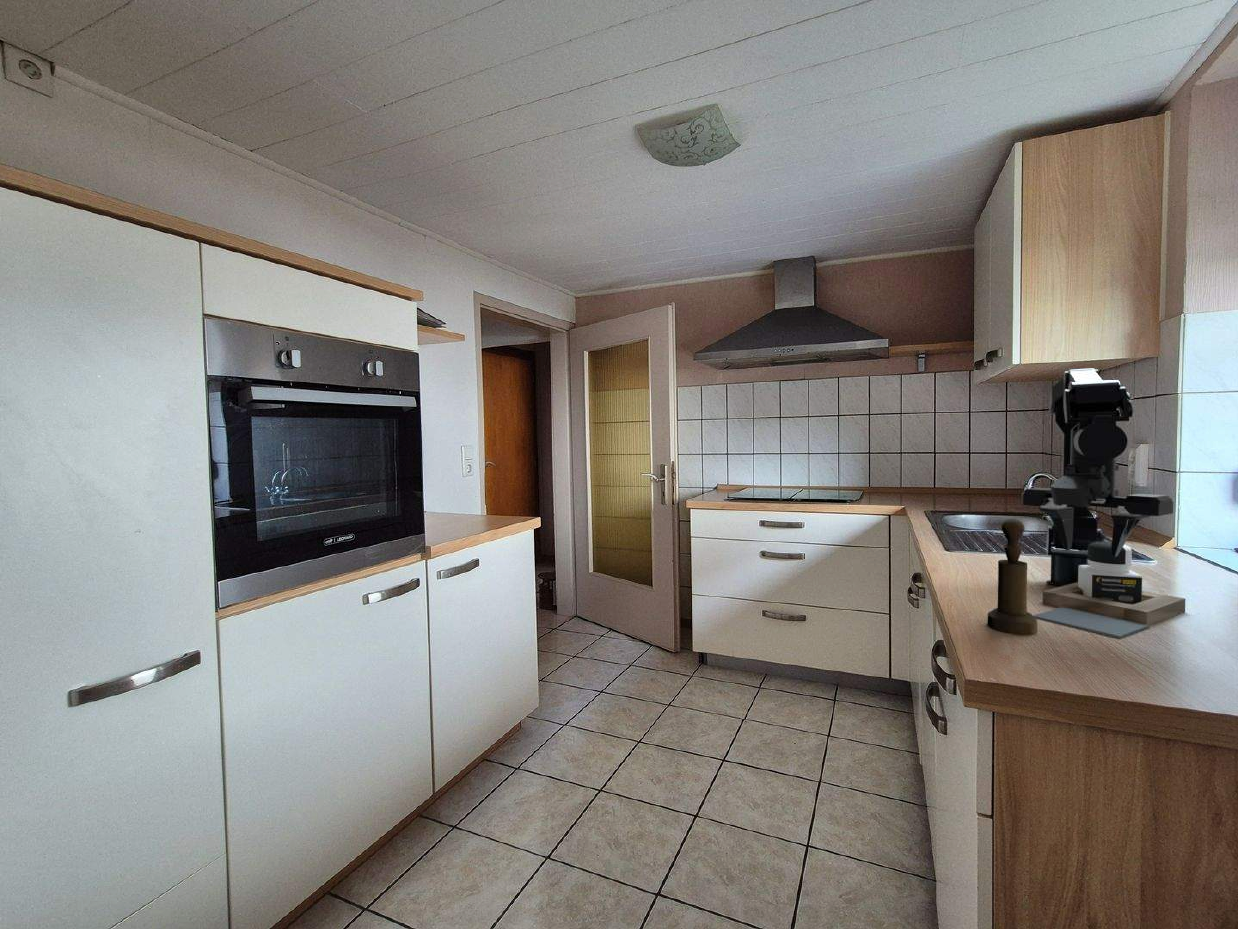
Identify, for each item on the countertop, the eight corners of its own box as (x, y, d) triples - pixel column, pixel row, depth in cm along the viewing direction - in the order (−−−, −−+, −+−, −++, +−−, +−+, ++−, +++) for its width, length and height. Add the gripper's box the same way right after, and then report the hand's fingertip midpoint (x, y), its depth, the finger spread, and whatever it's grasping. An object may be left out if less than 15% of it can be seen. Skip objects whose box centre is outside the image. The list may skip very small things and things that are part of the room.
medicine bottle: (1091, 612, 103) (1092, 545, 102) (1077, 601, 109) (1078, 539, 109) (1142, 616, 100) (1143, 547, 100) (1124, 605, 107) (1125, 540, 106)
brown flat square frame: (1042, 604, 106) (1042, 591, 106) (1083, 593, 113) (1083, 580, 113) (1146, 627, 93) (1146, 612, 93) (1185, 612, 100) (1185, 598, 100)
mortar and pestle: (1029, 625, 95) (1030, 517, 94) (1043, 638, 89) (1045, 523, 88) (982, 622, 97) (983, 516, 96) (993, 634, 91) (995, 521, 90)
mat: (1032, 619, 98) (1033, 615, 98) (1063, 609, 103) (1063, 606, 103) (1120, 640, 88) (1120, 636, 88) (1149, 628, 92) (1149, 625, 92)
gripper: (1004, 458, 99) (1003, 549, 99) (1142, 461, 82) (1140, 569, 83) (1039, 456, 104) (1037, 542, 105) (1176, 459, 87) (1173, 560, 88)
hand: (1090, 552), depth 95 cm, fingers open, 6 cm apart
